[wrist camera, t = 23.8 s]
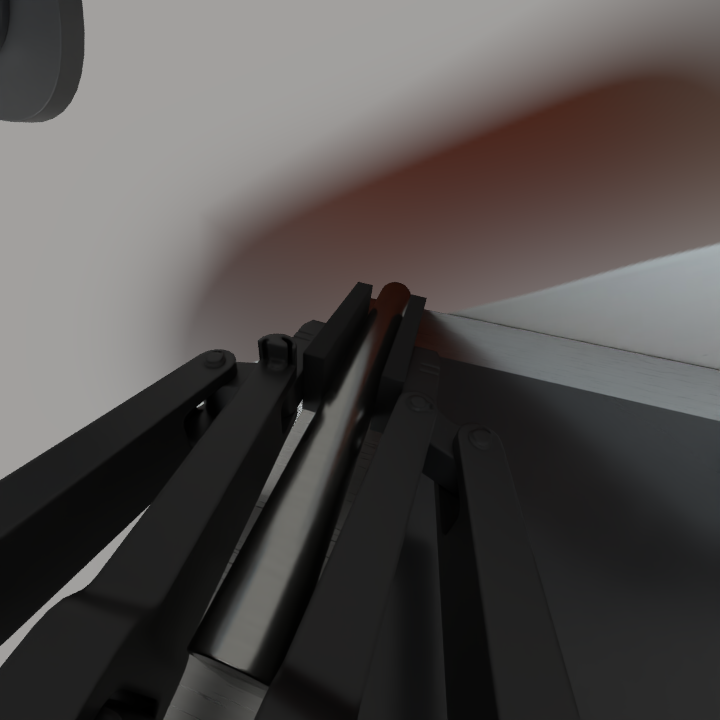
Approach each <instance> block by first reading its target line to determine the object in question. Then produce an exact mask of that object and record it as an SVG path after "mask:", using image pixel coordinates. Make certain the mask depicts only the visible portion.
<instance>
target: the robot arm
mask: <svg viewBox="0 0 720 720" xmlns="http://www.w3.org/2000/svg"><path fill="white" fill-rule="evenodd" d="M8 22H9V0H0V48H1V47H2V45H3V43H4V40H5V38H6V34H7V30H8ZM372 287H373V285H369V284H365V283H361V282H358V283H357V284H356V286H355V287H354V288H353V290H352V291H351V292H350V293H349V295H348V296H347V297H346V298H345V300H344V301H343V302H342V303H341V305H340V306H339V307H338V309H337V310H336V311H335V313H334V314H333V315H332V316H331V318H330V319H329V320H328V321H327V323H323V322H319V321H315V320H312V321H310V322H308V323H305V324H304V325H303V326H302V327H301V328H300V329H299V331H298V332H297V333H296V334H295V335H294V337H290V336H287V335H285V334H270V335H267V336H264V337H262V338H261V339H259V340H258V347H259V357H260V360H259V362H258V363H245V362H236V358H235V356H234V354H232V353H231V352H230V351H226V350H210V351H207V352H205V353H202V354H200V355H199V356H197V357H195V358H194V359H192V360H190V361H189V362H187V363H186V364H184V365H182V366H181V367H179V368H178V369H176V370H175V371H173V372H171V373H170V374H168V375H167V376H165V377H164V378H162V379H160V380H159V381H157V382H156V383H154V384H153V385H151V386H149V387H147V388H146V389H144V390H143V391H141V392H140V393H138V394H137V395H135V396H133V397H132V398H130V399H128V400H127V401H125V402H124V403H122V404H120V405H119V406H117V407H116V408H114V409H113V410H111V411H109V412H108V413H106V414H105V415H103V416H101V417H100V418H98V419H97V420H95V421H93V422H92V423H90V424H89V425H87V426H86V427H84V428H82V429H81V430H79V431H78V432H76V433H74V434H73V435H71V436H70V437H68V438H66V439H65V440H63V441H62V442H60V443H59V444H57V445H55V446H54V447H52V448H51V449H49V450H47V451H46V452H44V453H43V454H41V455H39V456H38V457H36V458H35V459H33V460H32V461H30V462H28V463H27V464H25V465H24V466H22V467H20V468H19V469H17V470H16V471H14V472H13V473H11V474H9V475H8V476H6V477H5V478H3V479H1V480H0V646H1V645H2V644H3V643H4V642H5V641H6V640H7V639H9V637H11V636H12V635H13V634H14V633H15V632H16V631H17V630H18V629H19V628H20V627H21V626H22V625H23V624H24V623H25V622H27V620H28V619H30V618H31V617H32V616H33V615H34V614H35V613H36V612H37V611H38V610H39V609H40V608H41V607H42V606H43V605H44V604H46V603H47V602H48V601H49V600H50V599H51V598H52V597H53V596H54V595H55V594H56V593H57V592H58V591H59V590H60V589H61V588H62V587H63V586H64V585H66V584H67V583H68V582H69V581H70V580H71V579H72V578H73V577H74V576H75V575H76V574H77V573H78V572H79V571H80V570H81V569H83V568H84V567H85V566H86V565H87V564H88V563H89V562H90V561H91V560H92V559H93V558H94V557H95V556H96V555H97V554H98V553H99V552H100V551H101V550H102V549H104V548H105V547H106V546H107V545H108V544H109V543H110V542H111V541H112V540H113V539H114V538H115V537H116V536H117V535H118V534H119V533H121V532H122V531H123V530H124V529H125V528H126V527H127V526H128V525H129V524H130V523H131V522H132V521H133V520H134V519H135V518H136V517H137V516H138V515H139V514H140V513H141V512H143V511H144V510H145V509H146V508H147V507H148V506H149V505H150V504H151V505H150V506H149V507H148V509H147V510H146V511H145V513H144V514H143V515H142V517H141V518H140V519H139V521H138V522H137V523H136V525H135V526H134V527H133V529H132V530H131V531H130V533H129V534H128V535H127V537H126V538H125V539H124V540H123V542H122V543H121V544H120V546H119V547H118V548H117V550H116V551H115V552H114V554H113V555H112V556H111V558H110V559H109V560H108V562H107V563H106V564H105V566H104V567H103V568H102V570H101V571H100V572H99V574H98V575H97V576H96V577H95V578H94V579H93V581H92V582H91V583H90V584H89V585H87V586H86V587H85V588H84V589H82V590H80V591H78V592H76V593H74V594H72V595H70V596H67V597H65V598H63V599H62V600H61V601H59V602H58V603H57V604H56V605H54V606H53V607H52V608H51V609H49V610H48V611H47V612H46V613H45V614H44V616H43V617H42V618H41V619H40V620H39V621H38V622H37V623H36V624H35V625H34V626H33V628H32V629H31V630H30V631H29V633H28V634H27V635H26V636H25V637H24V639H23V640H22V641H21V642H20V644H19V645H18V646H17V647H16V649H15V650H14V651H13V652H12V654H11V655H10V656H9V657H8V659H7V660H6V661H5V662H4V663H3V665H2V666H1V667H0V720H163V719H164V717H165V715H166V712H167V710H168V708H169V706H170V704H171V701H172V699H173V697H174V695H175V693H176V690H177V688H178V686H179V684H180V681H181V679H182V676H183V674H184V672H185V669H186V666H187V663H188V660H189V655H190V654H189V653H188V652H187V646H188V645H189V643H190V641H191V639H192V637H193V635H194V634H195V632H196V630H197V628H198V626H199V624H200V622H201V620H202V618H203V616H204V614H205V611H206V609H207V607H208V605H209V603H210V601H211V599H212V596H213V594H214V592H215V590H216V588H217V586H218V584H219V582H220V579H221V577H222V575H223V573H224V571H225V569H226V567H227V565H228V562H229V560H230V558H231V556H232V554H233V552H234V550H235V548H236V545H237V543H238V541H239V539H240V537H241V535H242V533H243V530H244V528H245V526H246V524H247V522H248V520H249V518H250V516H251V513H252V511H253V509H254V507H255V505H256V503H257V501H258V499H259V496H260V494H261V492H262V490H263V488H264V486H265V484H266V482H267V479H268V477H269V475H270V473H271V471H272V469H273V467H274V464H275V462H276V460H277V458H278V456H279V454H280V452H281V450H282V447H283V445H284V443H285V441H286V439H287V437H288V435H289V433H290V430H291V428H292V426H293V424H294V422H295V420H296V417H297V407H298V406H299V404H300V402H301V401H302V399H303V405H302V409H305V410H308V411H311V412H314V413H315V412H316V410H317V408H318V406H319V404H320V402H321V401H322V399H323V397H324V395H325V393H326V391H327V390H328V388H329V386H330V384H331V382H332V380H333V379H334V377H335V375H336V373H337V371H338V369H339V368H340V366H341V364H342V362H343V360H344V358H345V357H346V355H347V353H348V351H349V349H350V347H351V346H352V344H353V342H354V340H355V338H356V336H357V335H358V333H359V331H360V329H361V327H362V325H363V324H364V322H365V320H366V318H367V316H368V312H369V306H370V300H371V293H372ZM425 302H426V298H424V297H420V296H416V295H411V297H410V300H409V302H408V305H407V308H406V310H405V313H404V316H403V319H402V321H401V324H400V327H399V329H398V332H397V335H396V338H395V340H394V343H393V346H392V348H391V351H390V354H389V356H388V359H387V362H386V365H385V367H384V370H383V373H382V376H381V380H380V385H379V389H378V394H377V398H376V403H375V410H374V413H373V416H372V421H371V425H370V430H372V431H375V432H379V433H382V434H383V435H382V437H381V439H380V442H379V444H378V446H377V448H376V451H375V453H374V455H373V458H372V460H371V462H370V464H369V467H368V469H367V471H366V474H365V476H364V478H363V480H362V483H361V485H360V487H359V490H358V492H357V494H356V497H355V499H354V501H353V503H352V506H351V508H350V510H349V513H348V515H347V517H346V519H345V522H344V524H343V526H342V529H341V531H340V533H339V536H338V538H337V540H336V542H335V545H334V547H333V549H332V552H331V554H330V556H329V558H328V561H327V563H326V565H325V568H324V570H323V572H322V575H321V577H320V579H319V581H318V584H317V586H316V588H315V591H314V593H313V595H312V597H311V600H310V602H309V604H308V607H307V609H306V611H305V613H304V616H303V618H302V620H301V623H300V625H299V627H298V630H297V632H296V634H295V636H294V639H293V641H292V643H291V646H290V648H289V650H288V652H287V655H286V657H285V659H284V661H283V663H282V665H281V667H280V669H279V670H278V672H277V674H276V676H275V677H274V679H273V681H272V682H271V684H270V686H269V688H268V690H267V692H266V694H265V696H264V698H263V701H262V703H261V705H260V707H259V709H258V712H257V714H256V716H255V718H254V720H358V714H359V710H360V705H361V701H362V697H363V693H364V689H365V686H366V682H367V678H368V674H369V670H370V667H371V663H372V659H373V655H374V651H375V648H376V644H377V640H378V636H379V632H380V629H381V625H382V621H383V617H384V614H385V610H386V606H387V602H388V598H389V595H390V591H391V587H392V583H393V579H394V576H395V572H396V568H397V564H398V561H399V557H400V553H401V549H402V545H403V542H404V538H405V534H406V530H407V526H408V523H409V519H410V515H411V511H412V507H413V504H414V500H415V496H416V492H417V489H418V485H419V481H420V477H421V473H423V474H424V475H426V476H427V477H429V478H430V479H432V480H433V481H434V491H435V508H436V526H437V544H438V562H439V580H440V597H441V615H442V633H443V651H444V669H445V686H446V704H447V720H581V718H580V715H579V711H578V708H577V704H576V701H575V697H574V694H573V690H572V686H571V683H570V679H569V676H568V672H567V669H566V665H565V662H564V658H563V655H562V651H561V648H560V644H559V641H558V637H557V634H556V630H555V627H554V623H553V620H552V616H551V613H550V609H549V606H548V602H547V599H546V595H545V592H544V588H543V584H542V581H541V577H540V574H539V570H538V567H537V563H536V560H535V556H534V553H533V549H532V546H531V542H530V539H529V535H528V532H527V528H526V525H525V521H524V518H523V514H522V511H521V507H520V504H519V500H518V497H517V493H516V490H515V486H514V482H513V479H512V475H511V472H510V468H509V465H508V461H507V458H506V454H505V451H504V447H503V444H502V442H501V440H500V438H499V436H498V435H497V434H496V433H495V432H494V431H493V430H491V429H490V428H488V427H487V426H485V425H482V424H479V423H472V422H468V423H466V424H463V425H462V426H459V425H458V424H456V423H454V422H452V421H451V420H449V419H448V418H446V417H445V416H444V415H443V414H442V413H441V412H440V410H439V409H438V406H437V401H436V399H437V391H438V383H439V374H440V366H441V358H440V356H439V354H438V352H436V351H433V350H429V349H425V348H421V347H418V346H414V344H415V340H416V337H417V333H418V329H419V325H420V321H421V318H422V314H423V310H424V306H425ZM203 401H204V404H203V405H202V406H200V407H198V408H197V406H198V405H199V404H200V403H202V402H203Z"/></svg>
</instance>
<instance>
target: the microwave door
mask: <svg viewBox="0 0 720 720" xmlns="http://www.w3.org/2000/svg"><path fill="white" fill-rule="evenodd" d="M410 297H411V294H410V291H409V289H408V288H407V287H406V286H405V285H403V284H401V283H398V282H392V283H389V284H387V285H385V286H384V288H383V289H382V291H381V292H380V294H379V296H378V298H377V299H372V298H371V300H370V306H369V312H368V316H367V318H366V320H365V322H364V324H363V325H362V327H361V329H360V331H359V333H358V335H357V336H356V338H355V340H354V342H353V344H352V346H351V347H350V349H349V351H348V353H347V355H346V357H345V358H344V360H343V362H342V364H341V366H340V368H339V369H338V371H337V373H336V375H335V377H334V379H333V380H332V382H331V384H330V386H329V388H328V390H327V391H326V393H325V395H324V397H323V399H322V401H321V402H320V404H319V406H318V408H317V410H316V412H315V413H314V412H311V411H308V410H305V409H303V411H302V413H301V414H300V416H299V418H298V419H297V421H296V423H295V424H294V426H293V428H292V429H291V431H290V433H289V435H288V437H287V439H286V441H285V443H284V445H283V447H282V450H281V452H280V454H279V456H278V458H277V460H276V462H275V464H274V467H273V469H272V471H271V473H270V475H269V477H268V479H267V482H266V484H265V486H264V488H263V490H262V492H261V494H260V496H259V499H258V501H257V503H256V505H255V507H254V509H253V511H252V513H251V516H250V518H249V520H248V522H247V524H246V526H245V528H244V530H243V533H242V535H241V537H240V539H239V541H238V543H237V545H236V548H235V550H234V552H233V554H232V556H231V558H230V560H229V562H228V565H227V567H226V569H225V571H224V573H223V575H222V577H221V579H220V582H219V584H218V586H217V588H216V590H215V592H214V594H213V596H212V599H211V601H210V603H209V605H208V607H207V609H206V611H205V614H204V616H203V618H202V620H201V622H200V624H199V626H198V628H197V630H196V632H195V634H194V635H193V637H192V639H191V641H190V643H189V645H188V646H187V652H188V653H189V654H190V655H189V660H188V663H187V666H186V669H185V672H184V674H183V676H182V679H181V681H180V684H179V686H178V688H177V690H176V693H175V695H174V697H173V699H172V701H171V704H170V706H169V708H168V710H167V712H166V715H165V717H164V719H163V720H254V718H255V716H256V714H257V712H258V709H259V707H260V705H261V703H262V701H263V698H264V696H265V694H266V692H267V690H268V688H269V686H270V684H271V682H272V681H273V679H274V677H275V676H276V674H277V672H278V670H279V669H280V667H281V665H282V663H283V661H284V659H285V657H286V655H287V652H288V650H289V648H290V646H291V643H292V641H293V639H294V636H295V634H296V632H297V630H298V627H299V625H300V623H301V620H302V618H303V616H304V613H305V611H306V609H307V607H308V604H309V602H310V600H311V597H312V595H313V593H314V591H315V588H316V586H317V584H318V581H319V579H320V577H321V575H322V572H323V570H324V568H325V565H326V563H327V561H328V558H329V556H330V554H331V552H332V549H333V547H334V545H335V542H336V540H337V538H338V536H339V533H340V531H341V529H342V526H343V524H344V522H345V519H346V517H347V515H348V513H349V510H350V508H351V506H352V503H353V501H354V499H355V497H356V494H357V492H358V490H359V487H360V485H361V483H362V480H363V478H364V476H365V474H366V471H367V469H368V467H369V464H370V462H371V460H372V458H373V455H374V453H375V451H376V448H377V446H378V444H379V442H380V439H381V437H382V435H383V434H382V433H379V432H375V431H372V430H370V425H371V421H372V416H373V413H374V410H375V403H376V398H377V394H378V389H379V385H380V380H381V376H382V373H383V370H384V367H385V365H386V362H387V359H388V356H389V354H390V351H391V348H392V346H393V343H394V340H395V338H396V335H397V332H398V329H399V327H400V324H401V321H402V319H403V316H404V313H405V310H406V308H407V305H408V302H409V300H410ZM414 346H418V347H421V348H425V349H429V350H433V351H436V352H438V354H439V356H440V358H441V366H440V374H439V383H438V391H437V399H436V401H437V406H438V409H439V410H440V412H441V413H442V414H443V415H444V416H445V417H446V418H448V419H449V420H451V421H452V422H454V423H456V424H458V425H459V426H462V425H463V424H466V423H468V422H472V423H479V424H482V425H485V426H487V427H488V428H490V429H491V430H493V431H494V432H495V433H496V434H497V435H498V436H499V438H500V440H501V442H502V444H503V447H504V451H505V454H506V458H507V461H508V465H509V468H510V472H511V475H512V479H513V482H514V486H515V490H516V493H517V497H518V500H519V504H520V507H521V511H522V514H523V518H524V521H525V525H526V528H527V532H528V535H529V539H530V542H531V546H532V549H533V553H534V556H535V560H536V563H537V567H538V570H539V574H540V577H541V581H542V584H543V588H544V592H545V595H546V599H547V602H548V606H549V609H550V613H551V616H552V620H553V623H554V627H555V630H556V634H557V637H558V641H559V644H560V648H561V651H562V655H563V658H564V662H565V665H566V669H567V672H568V676H569V679H570V683H571V686H572V690H573V694H574V697H575V701H576V704H577V708H578V711H579V715H580V718H581V720H720V371H719V370H714V369H710V368H705V367H700V366H695V365H690V364H686V363H681V362H676V361H671V360H666V359H661V358H657V357H652V356H647V355H642V354H637V353H632V352H628V351H623V350H618V349H613V348H608V347H603V346H599V345H594V344H589V343H584V342H579V341H575V340H570V339H565V338H560V337H555V336H550V335H546V334H541V333H536V332H531V331H526V330H521V329H517V328H512V327H507V326H502V325H497V324H492V323H488V322H483V321H478V320H473V319H468V318H464V317H459V316H454V315H449V314H444V313H439V312H435V311H430V310H425V309H424V310H423V314H422V318H421V321H420V325H419V329H418V333H417V337H416V340H415V344H414ZM358 720H447V704H446V686H445V669H444V651H443V633H442V615H441V597H440V580H439V562H438V544H437V526H436V508H435V491H434V481H433V480H432V479H430V478H429V477H427V476H426V475H424V474H423V473H421V477H420V481H419V485H418V489H417V492H416V496H415V500H414V504H413V507H412V511H411V515H410V519H409V523H408V526H407V530H406V534H405V538H404V542H403V545H402V549H401V553H400V557H399V561H398V564H397V568H396V572H395V576H394V579H393V583H392V587H391V591H390V595H389V598H388V602H387V606H386V610H385V614H384V617H383V621H382V625H381V629H380V632H379V636H378V640H377V644H376V648H375V651H374V655H373V659H372V663H371V667H370V670H369V674H368V678H367V682H366V686H365V689H364V693H363V697H362V701H361V705H360V710H359V714H358Z"/></svg>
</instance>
